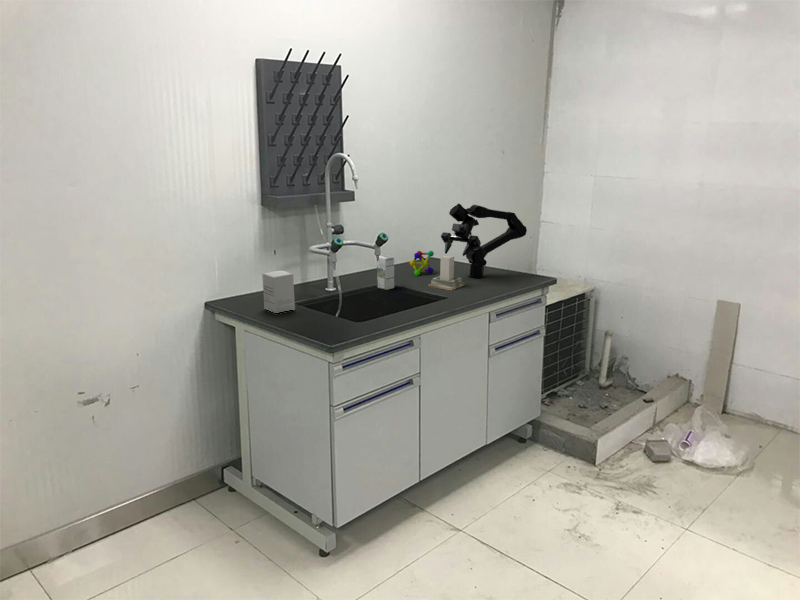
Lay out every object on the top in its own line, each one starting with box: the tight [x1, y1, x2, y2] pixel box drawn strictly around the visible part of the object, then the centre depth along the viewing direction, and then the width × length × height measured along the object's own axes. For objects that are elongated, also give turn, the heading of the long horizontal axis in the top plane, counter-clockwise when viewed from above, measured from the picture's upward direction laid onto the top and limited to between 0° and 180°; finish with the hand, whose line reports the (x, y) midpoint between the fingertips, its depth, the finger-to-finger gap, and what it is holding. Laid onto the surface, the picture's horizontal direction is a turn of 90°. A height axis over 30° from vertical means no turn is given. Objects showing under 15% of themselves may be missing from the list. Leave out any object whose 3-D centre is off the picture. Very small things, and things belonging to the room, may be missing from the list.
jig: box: [427, 275, 466, 291], centre depth 288 cm, size 12×12×4 cm
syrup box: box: [376, 254, 395, 291], centre depth 282 cm, size 6×6×14 cm
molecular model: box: [409, 250, 435, 277], centre depth 310 cm, size 11×7×12 cm, turn 125°
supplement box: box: [261, 269, 296, 314], centre depth 247 cm, size 9×9×15 cm
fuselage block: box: [439, 255, 455, 281], centre depth 287 cm, size 4×4×12 cm
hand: (454, 254), depth 290 cm, fingers open, 9 cm apart
